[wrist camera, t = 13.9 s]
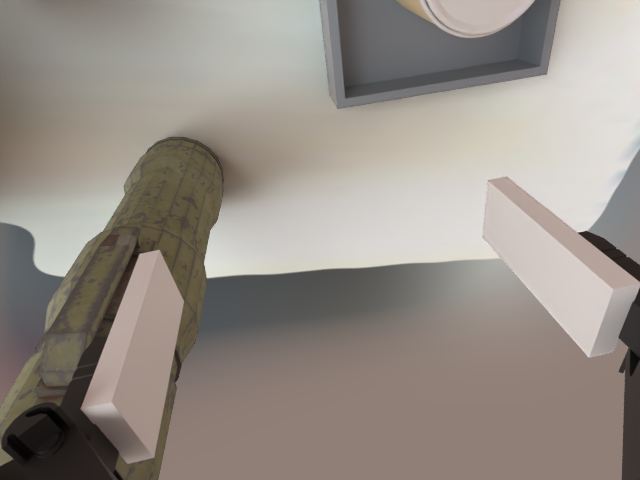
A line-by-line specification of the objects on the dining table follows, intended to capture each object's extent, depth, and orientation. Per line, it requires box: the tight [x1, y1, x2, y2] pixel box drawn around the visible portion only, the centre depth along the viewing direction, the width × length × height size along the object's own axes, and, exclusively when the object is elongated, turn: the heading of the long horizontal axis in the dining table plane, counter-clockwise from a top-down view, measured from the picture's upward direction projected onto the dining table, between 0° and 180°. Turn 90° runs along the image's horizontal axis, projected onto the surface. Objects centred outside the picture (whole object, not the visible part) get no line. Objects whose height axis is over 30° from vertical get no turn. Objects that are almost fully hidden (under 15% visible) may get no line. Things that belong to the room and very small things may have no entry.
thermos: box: [0, 137, 224, 480], centre depth 30 cm, size 9×12×35 cm
